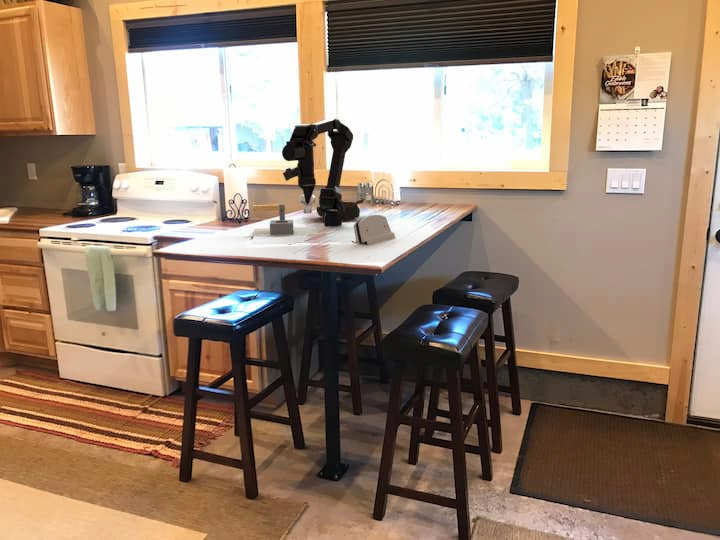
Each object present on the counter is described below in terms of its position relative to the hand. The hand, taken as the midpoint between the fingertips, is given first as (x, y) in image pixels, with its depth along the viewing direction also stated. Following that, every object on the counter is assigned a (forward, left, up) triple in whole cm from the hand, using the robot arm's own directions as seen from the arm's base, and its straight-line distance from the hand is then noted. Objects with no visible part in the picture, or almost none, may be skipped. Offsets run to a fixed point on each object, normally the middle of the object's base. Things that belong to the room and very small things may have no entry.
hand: (307, 202), depth 220 cm
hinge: (-23, +16, -12) cm, 30 cm away
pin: (0, 0, -4) cm, 4 cm away
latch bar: (+15, -10, -4) cm, 18 cm away
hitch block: (+9, -3, -12) cm, 15 cm away
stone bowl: (-13, -38, -12) cm, 42 cm away
